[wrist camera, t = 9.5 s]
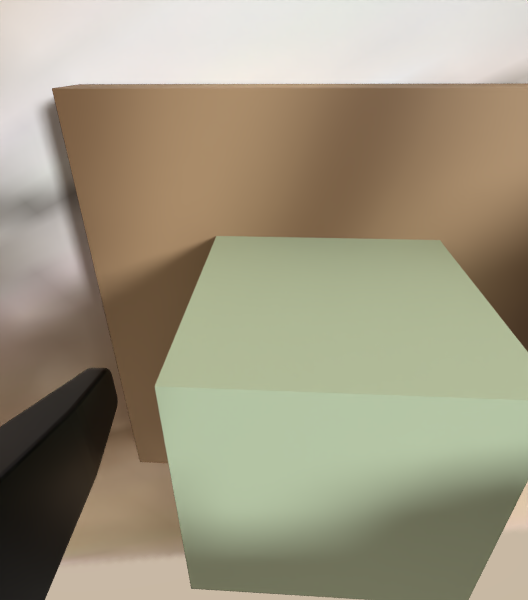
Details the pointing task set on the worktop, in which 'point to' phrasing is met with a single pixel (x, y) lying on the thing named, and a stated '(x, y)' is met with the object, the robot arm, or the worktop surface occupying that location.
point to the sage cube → (342, 420)
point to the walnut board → (286, 191)
